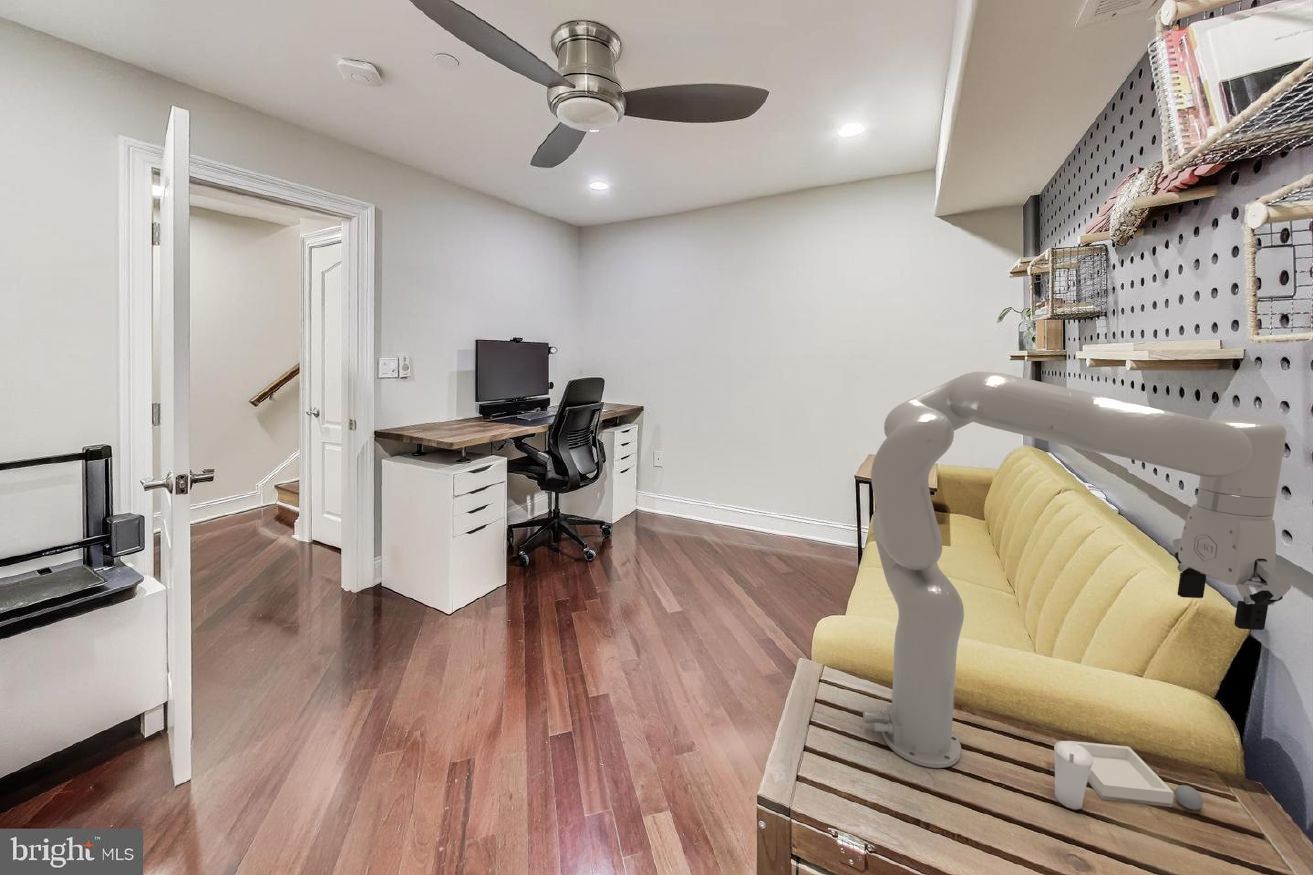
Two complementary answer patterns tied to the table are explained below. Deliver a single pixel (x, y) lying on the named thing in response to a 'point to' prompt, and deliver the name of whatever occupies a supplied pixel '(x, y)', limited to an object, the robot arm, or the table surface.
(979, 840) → the table surface
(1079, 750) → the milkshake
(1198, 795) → the ball
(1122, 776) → the tray
